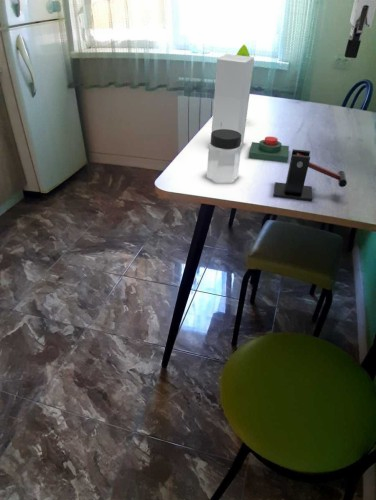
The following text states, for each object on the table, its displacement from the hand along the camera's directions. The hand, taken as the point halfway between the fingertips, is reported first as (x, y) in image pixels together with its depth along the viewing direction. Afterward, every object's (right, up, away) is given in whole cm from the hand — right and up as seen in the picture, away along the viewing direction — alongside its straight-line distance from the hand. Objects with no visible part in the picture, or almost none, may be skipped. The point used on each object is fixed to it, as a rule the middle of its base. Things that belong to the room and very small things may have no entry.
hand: (350, 57), depth 115 cm
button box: (-20, -21, +16) cm, 33 cm away
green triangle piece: (-28, +1, +39) cm, 48 cm away
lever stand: (-17, -40, -4) cm, 44 cm away
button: (-20, -18, +14) cm, 30 cm away
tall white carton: (-33, -16, +21) cm, 42 cm away
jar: (-36, -34, +2) cm, 49 cm away
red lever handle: (-12, -36, -9) cm, 39 cm away
